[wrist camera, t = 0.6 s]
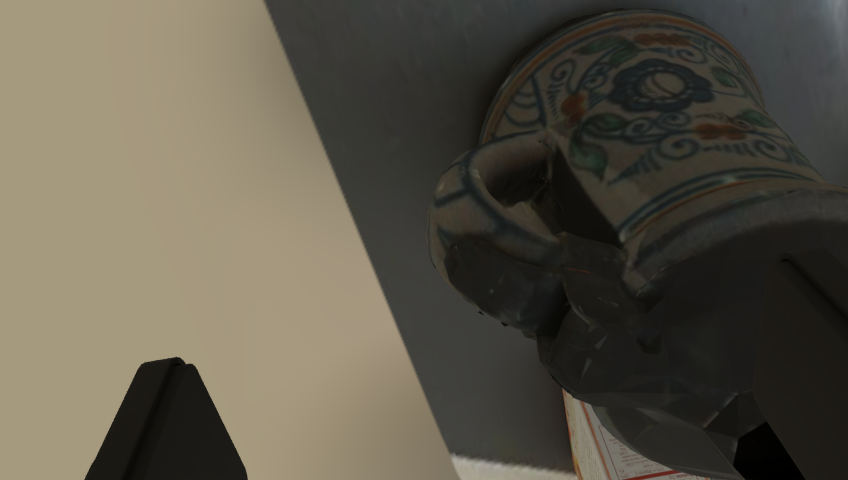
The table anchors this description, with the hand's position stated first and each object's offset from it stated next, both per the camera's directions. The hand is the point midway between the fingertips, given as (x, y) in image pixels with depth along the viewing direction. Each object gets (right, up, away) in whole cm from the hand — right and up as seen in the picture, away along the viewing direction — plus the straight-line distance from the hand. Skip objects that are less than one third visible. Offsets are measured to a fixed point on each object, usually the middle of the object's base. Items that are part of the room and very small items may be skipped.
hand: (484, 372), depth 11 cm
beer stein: (+9, +8, +30) cm, 32 cm away
